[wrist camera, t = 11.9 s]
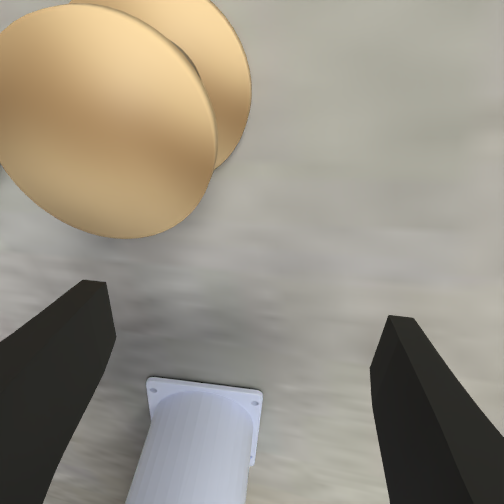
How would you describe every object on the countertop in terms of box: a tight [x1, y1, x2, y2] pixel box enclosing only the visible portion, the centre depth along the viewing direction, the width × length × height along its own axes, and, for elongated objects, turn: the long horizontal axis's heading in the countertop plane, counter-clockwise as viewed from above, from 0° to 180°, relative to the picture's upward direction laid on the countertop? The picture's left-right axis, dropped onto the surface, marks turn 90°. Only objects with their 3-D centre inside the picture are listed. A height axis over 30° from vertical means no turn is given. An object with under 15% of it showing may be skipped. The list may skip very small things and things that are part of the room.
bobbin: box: [0, 0, 252, 239], centre depth 15 cm, size 8×8×6 cm
